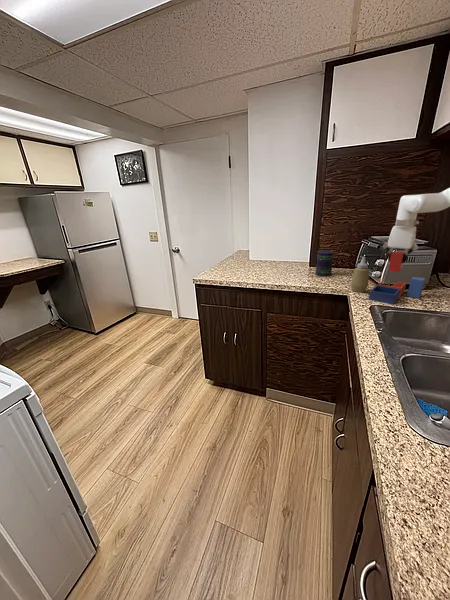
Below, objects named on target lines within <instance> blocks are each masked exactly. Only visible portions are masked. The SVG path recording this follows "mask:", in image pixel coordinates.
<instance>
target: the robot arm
mask: <svg viewBox="0 0 450 600" xmlns="http://www.w3.org/2000/svg"><path fill="white" fill-rule="evenodd" d="M399 199H400V200H399V202H398V203H399V204H398V209H397V213H396V217H395V218H396V219H395V224H394V226H392V228H391V231H390V234H389V238H388V240H387V241H385V243H384V244H382V248H383V249H384V250H385V251H386V252H387V253H388V257H387V260H388V263H390V259H391V254H392V252H393V251H395V249H404V252H405V254H404V255H403V259H402V263H403V264H404V263H406V262H407V260H408V258H409V257H408V256H409V254H411V253H413V252H416V250H419V246H418V244H417V243H416V236H417V226H416V225H419V224H420V221H419V220H417V216H418V214H424V213H425V214H426V213H437V212H440V211H443V210H446V209H447V208H450V187H448V188H446V189H445V190H442V191H441V192H435V193H434V192H433V193H420V194H407V195H402V196H401V197H400V198H399Z"/></svg>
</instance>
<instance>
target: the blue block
mask: <svg viewBox="0 0 450 600" xmlns="http://www.w3.org/2000/svg"><path fill="white" fill-rule="evenodd" d="M425 281H426V277H422V276H421V277H419V276H412V278H411V279H410V282H409V287H408V291H407V296H406V297H408V298H414V299H420V298H421V297H422V293H423V289H424V285H425Z"/></svg>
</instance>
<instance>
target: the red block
mask: <svg viewBox="0 0 450 600" xmlns="http://www.w3.org/2000/svg"><path fill="white" fill-rule="evenodd" d="M404 254H405V251H401V250H393V252H392V254H391V259H390V262H389V263H388V269H387V271H391V272H397V273H400V272H401V271H402V270H403V266H404V263H402V259H403V255H404Z"/></svg>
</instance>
